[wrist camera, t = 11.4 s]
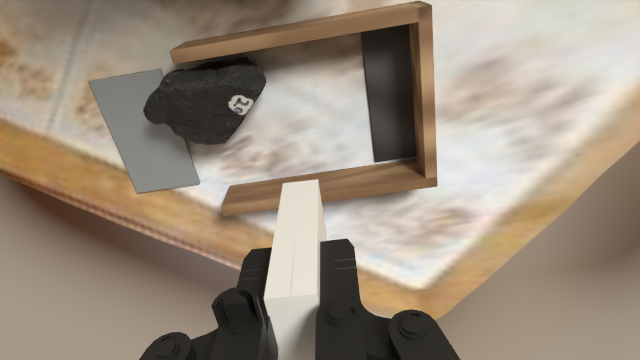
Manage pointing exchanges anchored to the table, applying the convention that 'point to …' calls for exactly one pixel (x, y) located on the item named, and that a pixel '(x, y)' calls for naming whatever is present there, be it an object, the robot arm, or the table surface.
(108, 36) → the table surface
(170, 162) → the mat
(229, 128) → the rock
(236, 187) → the open wooden frame
